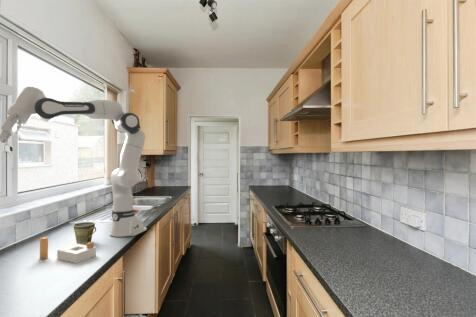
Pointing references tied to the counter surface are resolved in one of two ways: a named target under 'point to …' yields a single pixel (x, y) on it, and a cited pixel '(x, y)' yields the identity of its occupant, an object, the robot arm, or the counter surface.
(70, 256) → the housing
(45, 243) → the pin
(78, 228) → the ceramic cup
